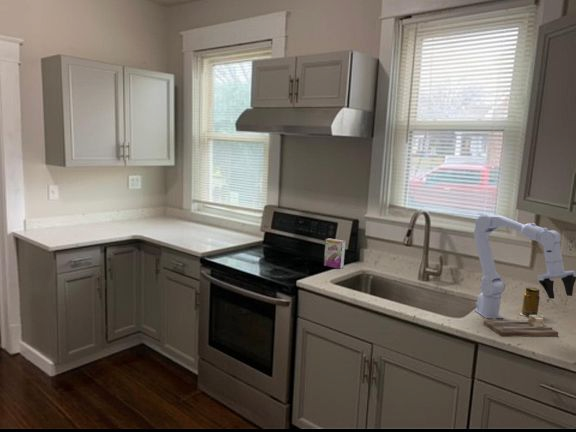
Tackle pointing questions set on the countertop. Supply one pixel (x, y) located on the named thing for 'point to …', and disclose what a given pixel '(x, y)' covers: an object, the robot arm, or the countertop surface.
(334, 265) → the candy bar box
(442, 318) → the countertop surface
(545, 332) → the console
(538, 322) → the fader tab
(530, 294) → the condiment
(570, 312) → the countertop surface
